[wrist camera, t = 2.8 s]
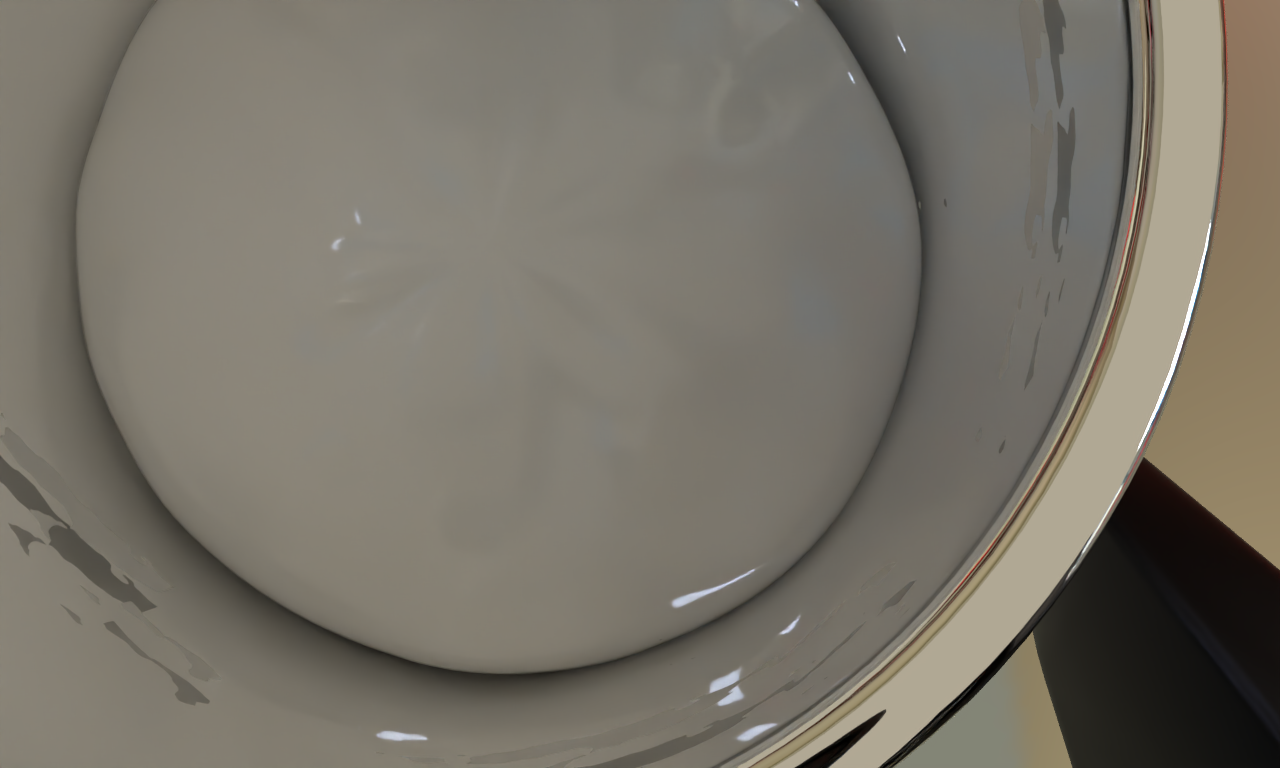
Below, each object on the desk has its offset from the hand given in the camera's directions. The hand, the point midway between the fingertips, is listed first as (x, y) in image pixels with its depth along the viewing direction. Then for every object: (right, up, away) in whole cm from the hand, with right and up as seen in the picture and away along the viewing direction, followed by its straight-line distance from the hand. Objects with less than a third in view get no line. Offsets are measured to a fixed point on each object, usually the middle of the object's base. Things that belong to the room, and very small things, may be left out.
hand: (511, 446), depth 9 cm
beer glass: (0, +1, +10) cm, 10 cm away
